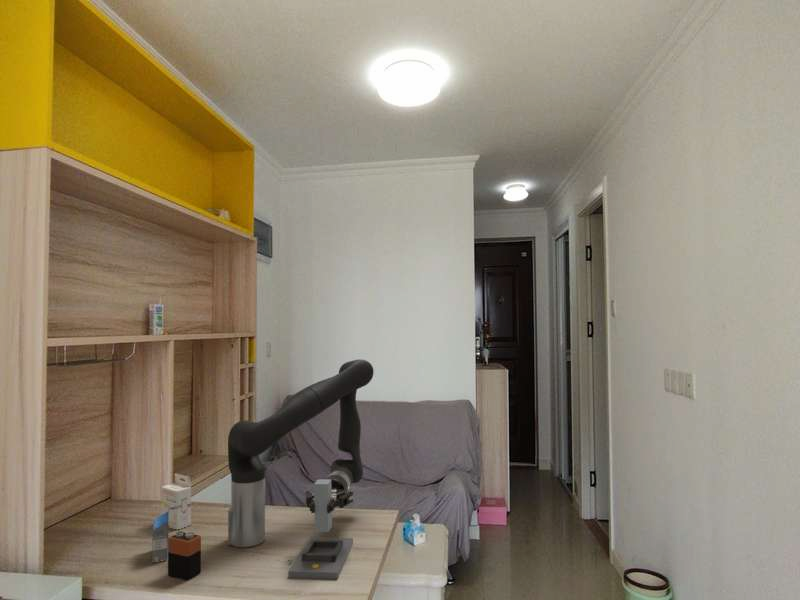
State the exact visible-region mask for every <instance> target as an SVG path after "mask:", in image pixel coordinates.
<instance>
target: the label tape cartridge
mask: <svg viewBox="0 0 800 600" xmlns="http://www.w3.org/2000/svg"><path fill="white" fill-rule="evenodd" d="M169 505H170V502H169ZM152 525H153V527H152V538H151V539H152V548H151V551H152V554H151V563H152V562H156V561H161V560H167V559H168V538H169V537H170V536H169V533H170V532H169V529H170V528H169V509H168V512H166V513H164V514H163V515H159V516H157V517H155V518H154V520H153V524H152ZM167 561H168V560H167Z"/></svg>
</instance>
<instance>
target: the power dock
mask: <svg viewBox="0 0 800 600" xmlns="http://www.w3.org/2000/svg"><path fill="white" fill-rule="evenodd" d="M353 545H354V537H328V536H327V537H323V536H321V537H320V536H310V537H309V538H308V540H307V542H306V543H305V545H304V547H303V548H302V549H301V551H300V553H299V554H298V555H297V557H296V559H295V561H294V562H293V563H292V565H291V566H290V568H289V570H288V573H287V575H288V576H287V577H288V578H289V579H316V580H317V579H319V580H338V579H339V578H340V574H341V572H342V570H343V569H344V565H345V564H346V561H347V559H348V556H349V554H350V552H351V549H352V547H353Z"/></svg>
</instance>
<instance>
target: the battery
mask: <svg viewBox="0 0 800 600" xmlns="http://www.w3.org/2000/svg"><path fill="white" fill-rule="evenodd" d="M201 561H202V536H201V535H199V534H195V532H194V531H188V532H184V531H182V530H177V531H176V532H175V534H173V535H172V536H169V538H168V560H167V576H169V575H170V576H169V577H172V576H173V577H172V578H176V577H177V579H180V578H181V579H182V580H184V579H185V580H184V581H189V580H191V579H193V578H194V577H196V576H198V575H199V574H200V573H201V571H202V569H201V565H202V564H201V563H202V562H201ZM192 577H193V578H192Z"/></svg>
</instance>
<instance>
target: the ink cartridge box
mask: <svg viewBox="0 0 800 600" xmlns="http://www.w3.org/2000/svg"><path fill="white" fill-rule="evenodd" d="M181 479H183V480H181ZM169 502H170V505H169ZM160 503H161V509H160V514H161V515H163V514H164V513H166V512H168V509H169V527H171V528H174V529H177V530H176V531H179V530H178V529H180V530H182V529H185V528H187V526H188V527H190V526H191V524H192V522H191V518H192V514H191V513H192V511H191V510H192V486H191V477H190V476H187V475H182V474H179V473H174V482H173V483H169V484H167V485H162V486H161V502H160ZM161 515H160V516H161ZM189 525H190V526H189ZM184 527H185V528H184ZM171 528H170V529H171ZM181 528H182V529H181ZM174 529H173V530H174Z"/></svg>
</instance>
